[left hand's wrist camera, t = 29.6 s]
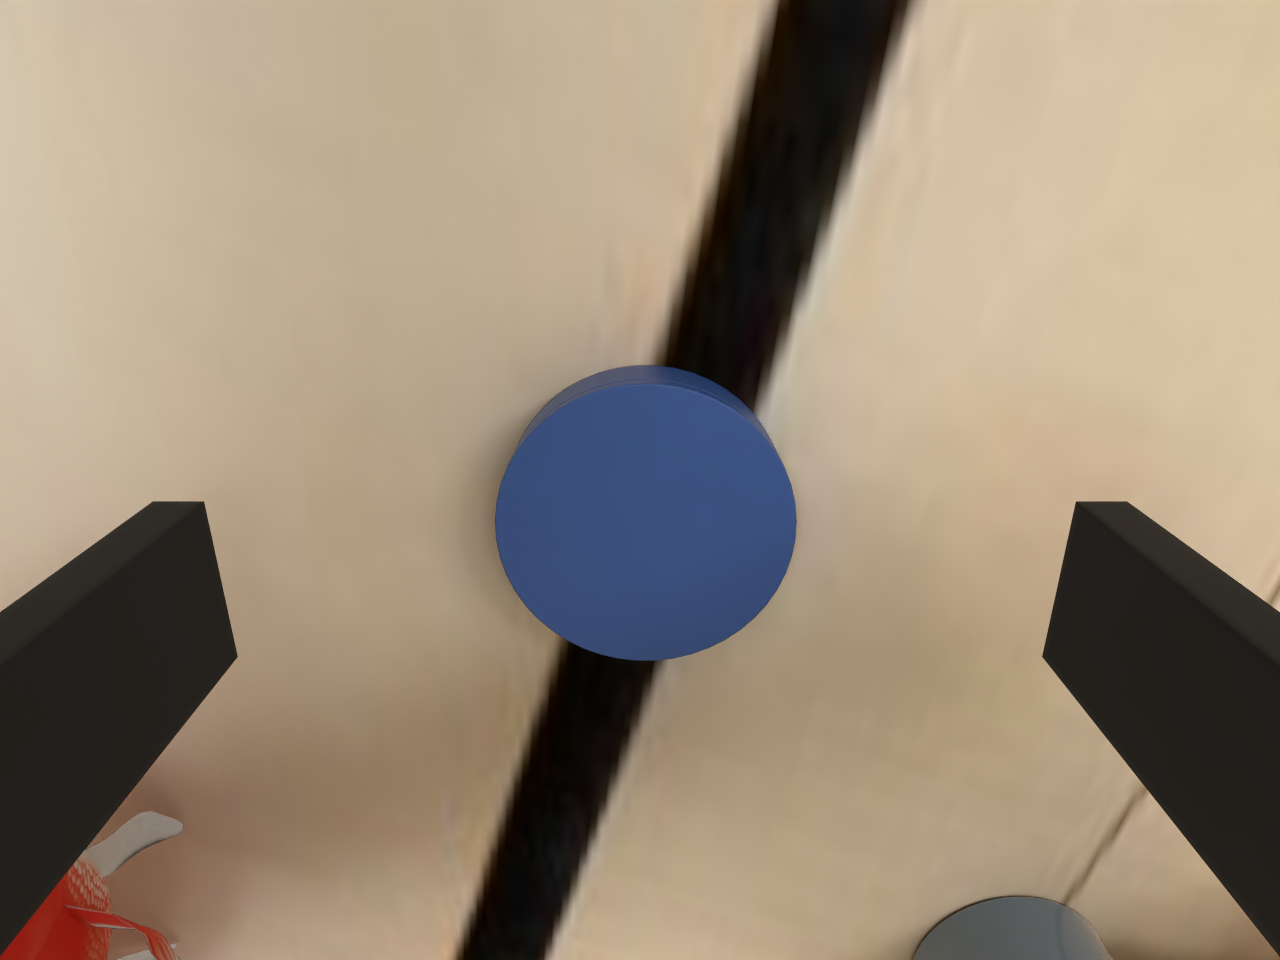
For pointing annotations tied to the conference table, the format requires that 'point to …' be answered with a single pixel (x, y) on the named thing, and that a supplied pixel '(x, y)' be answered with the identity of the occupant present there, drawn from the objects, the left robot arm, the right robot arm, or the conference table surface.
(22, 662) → the left robot arm
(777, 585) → the lid
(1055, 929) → the jar
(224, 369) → the conference table surface
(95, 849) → the fish
